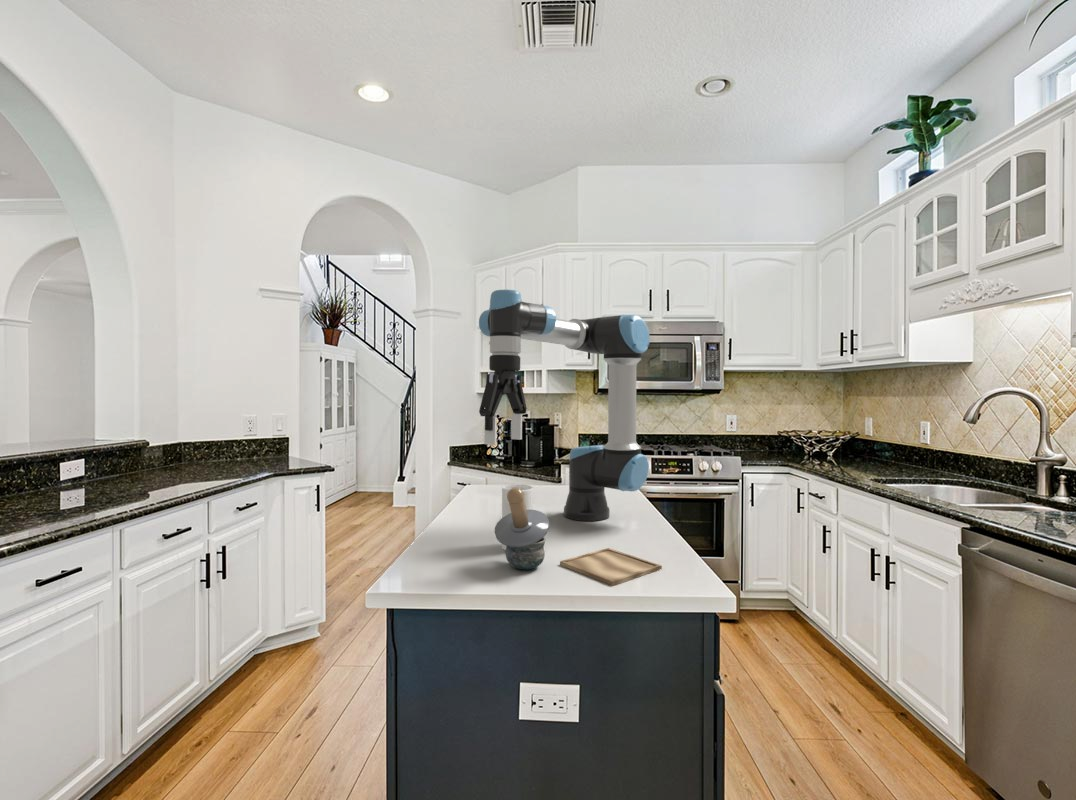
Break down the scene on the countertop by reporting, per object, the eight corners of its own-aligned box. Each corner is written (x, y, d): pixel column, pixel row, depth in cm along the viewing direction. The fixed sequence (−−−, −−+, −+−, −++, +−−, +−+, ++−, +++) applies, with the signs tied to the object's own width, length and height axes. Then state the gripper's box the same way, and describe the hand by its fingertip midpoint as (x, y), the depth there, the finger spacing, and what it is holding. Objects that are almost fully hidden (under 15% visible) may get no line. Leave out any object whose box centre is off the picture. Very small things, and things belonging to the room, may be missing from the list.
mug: (517, 577, 121) (518, 533, 121) (490, 561, 132) (491, 520, 131) (552, 569, 127) (553, 527, 126) (524, 555, 137) (524, 515, 137)
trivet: (608, 551, 141) (608, 548, 141) (661, 569, 128) (661, 565, 128) (560, 564, 130) (560, 561, 130) (612, 585, 117) (613, 581, 117)
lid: (527, 506, 136) (519, 468, 132) (560, 526, 127) (553, 485, 122) (484, 531, 129) (475, 492, 125) (517, 554, 120) (507, 512, 115)
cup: (528, 553, 139) (529, 491, 138) (498, 550, 140) (498, 489, 140) (535, 543, 147) (536, 485, 146) (506, 541, 148) (506, 483, 148)
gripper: (514, 357, 144) (513, 436, 145) (464, 351, 121) (463, 446, 122) (539, 357, 141) (538, 438, 142) (493, 351, 118) (492, 448, 119)
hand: (504, 441), depth 132 cm, fingers open, 13 cm apart
